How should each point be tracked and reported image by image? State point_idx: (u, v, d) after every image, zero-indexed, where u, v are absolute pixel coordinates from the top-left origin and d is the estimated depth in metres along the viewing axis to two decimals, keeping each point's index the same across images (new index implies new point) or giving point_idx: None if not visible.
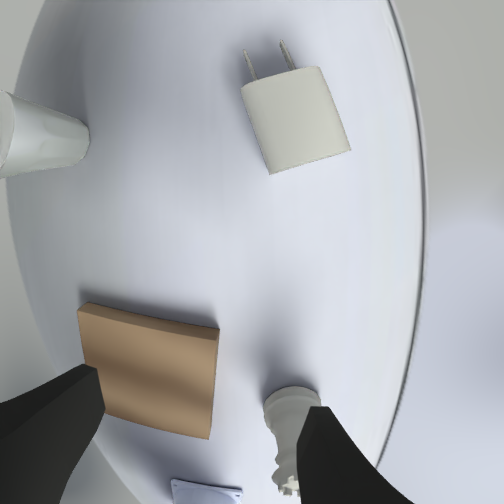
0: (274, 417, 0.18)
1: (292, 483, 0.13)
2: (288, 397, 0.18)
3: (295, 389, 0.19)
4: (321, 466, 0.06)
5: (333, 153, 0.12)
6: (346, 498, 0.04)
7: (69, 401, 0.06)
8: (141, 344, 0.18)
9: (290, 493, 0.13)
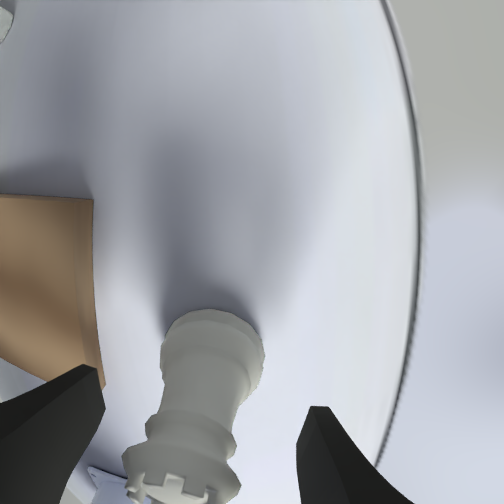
0: (167, 359, 0.10)
1: (156, 491, 0.05)
2: (193, 323, 0.11)
3: (210, 313, 0.11)
4: (321, 466, 0.06)
5: None
6: (346, 498, 0.04)
7: (69, 401, 0.06)
8: (2, 226, 0.10)
9: None
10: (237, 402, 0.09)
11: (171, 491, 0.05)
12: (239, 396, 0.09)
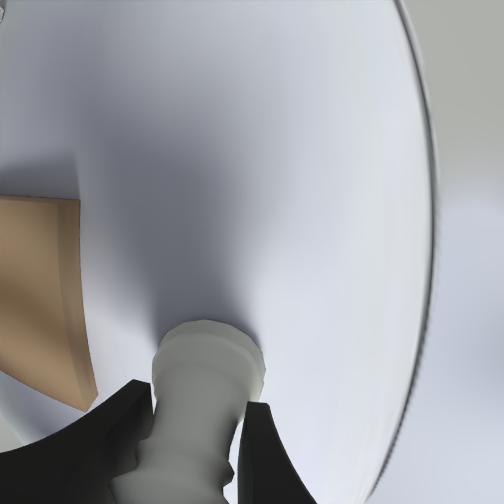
0: (159, 375, 0.09)
1: None
2: (186, 336, 0.10)
3: (206, 324, 0.10)
4: (246, 463, 0.06)
5: None
6: (252, 499, 0.04)
7: (128, 422, 0.06)
8: None
9: None
10: (235, 423, 0.08)
11: None
12: (237, 416, 0.08)
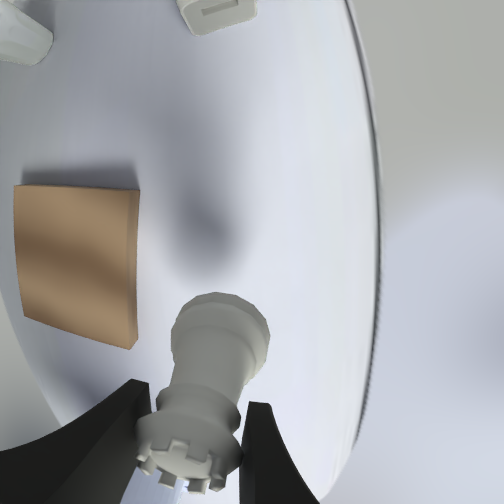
0: (177, 341, 0.11)
1: (164, 460, 0.06)
2: (199, 305, 0.12)
3: (216, 296, 0.12)
4: (248, 463, 0.06)
5: None
6: (254, 500, 0.04)
7: (126, 421, 0.06)
8: (61, 210, 0.15)
9: (171, 483, 0.06)
10: (242, 377, 0.10)
11: (177, 459, 0.06)
12: (244, 372, 0.10)
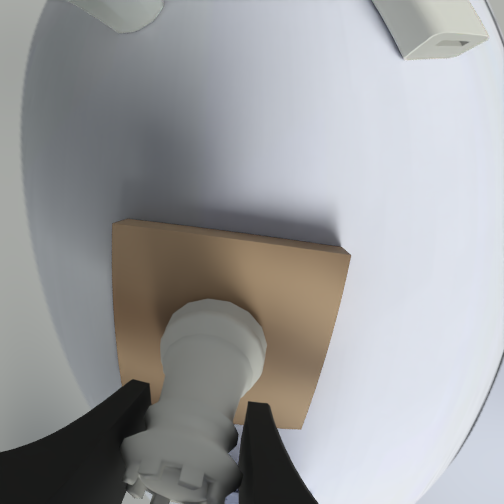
0: (167, 351, 0.10)
1: (155, 483, 0.05)
2: (190, 313, 0.11)
3: (208, 303, 0.11)
4: (247, 463, 0.06)
5: (481, 33, 0.06)
6: (253, 499, 0.04)
7: (127, 422, 0.06)
8: (224, 272, 0.12)
9: None
10: (238, 391, 0.09)
11: (169, 483, 0.05)
12: (240, 385, 0.09)
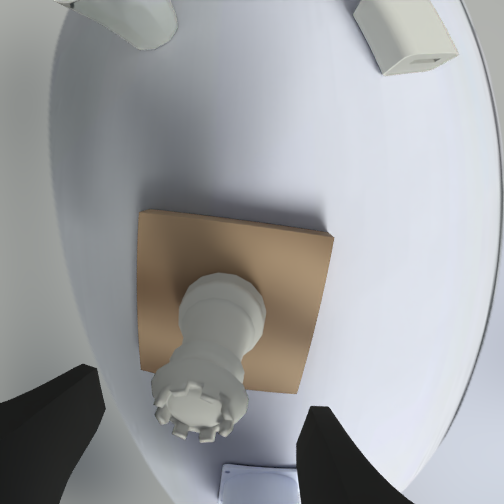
0: (185, 314, 0.13)
1: (179, 407, 0.08)
2: (205, 283, 0.14)
3: (219, 276, 0.14)
4: (321, 466, 0.06)
5: (449, 51, 0.09)
6: (346, 498, 0.04)
7: (69, 401, 0.06)
8: (231, 251, 0.15)
9: (184, 432, 0.08)
10: (244, 342, 0.12)
11: (192, 403, 0.08)
12: (245, 338, 0.12)
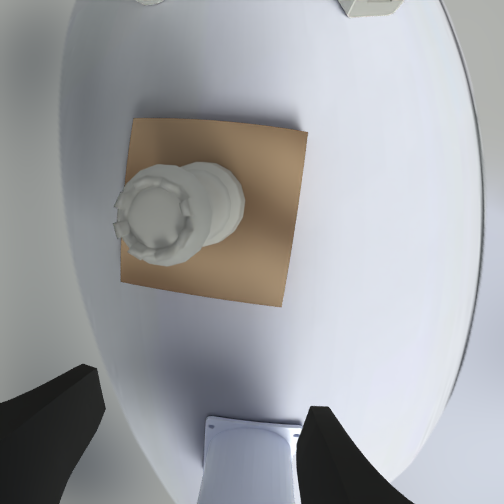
0: None
1: (139, 213, 0.08)
2: (186, 165, 0.14)
3: None
4: (321, 466, 0.06)
5: None
6: (346, 498, 0.04)
7: (69, 401, 0.06)
8: (213, 145, 0.15)
9: (140, 249, 0.08)
10: (217, 202, 0.12)
11: (152, 205, 0.08)
12: (220, 201, 0.12)
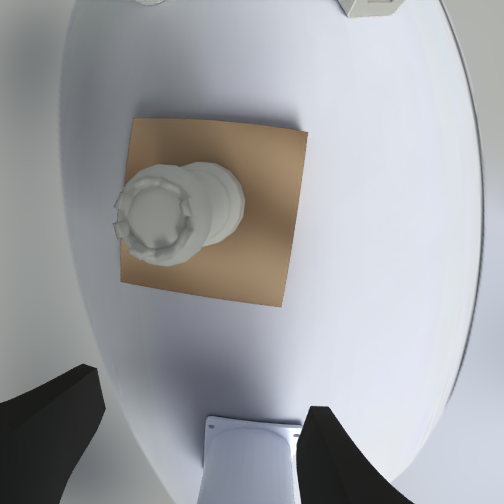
0: None
1: (140, 213, 0.08)
2: (186, 165, 0.14)
3: None
4: (321, 466, 0.06)
5: None
6: (346, 498, 0.04)
7: (69, 401, 0.06)
8: (213, 145, 0.15)
9: (140, 249, 0.08)
10: (218, 202, 0.12)
11: (152, 205, 0.08)
12: (220, 201, 0.12)
